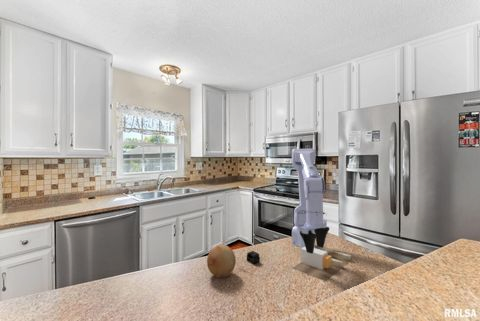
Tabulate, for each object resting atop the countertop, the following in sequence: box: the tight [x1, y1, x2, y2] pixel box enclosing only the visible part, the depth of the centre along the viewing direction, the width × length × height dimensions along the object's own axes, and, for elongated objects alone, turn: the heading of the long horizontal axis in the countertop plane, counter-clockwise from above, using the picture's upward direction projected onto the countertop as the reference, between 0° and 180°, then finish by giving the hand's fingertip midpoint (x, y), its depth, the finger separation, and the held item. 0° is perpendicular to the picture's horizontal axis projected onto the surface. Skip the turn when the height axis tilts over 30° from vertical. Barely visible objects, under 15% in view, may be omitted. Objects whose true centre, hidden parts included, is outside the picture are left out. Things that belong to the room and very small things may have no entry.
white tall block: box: [300, 247, 332, 270], centre depth 78 cm, size 10×4×5 cm, turn 44°
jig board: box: [292, 246, 353, 282], centre depth 79 cm, size 12×22×3 cm, turn 134°
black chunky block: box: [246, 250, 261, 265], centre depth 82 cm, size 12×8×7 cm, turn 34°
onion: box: [206, 243, 237, 278], centre depth 74 cm, size 10×10×10 cm
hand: (315, 249), depth 78 cm, fingers open, 7 cm apart
